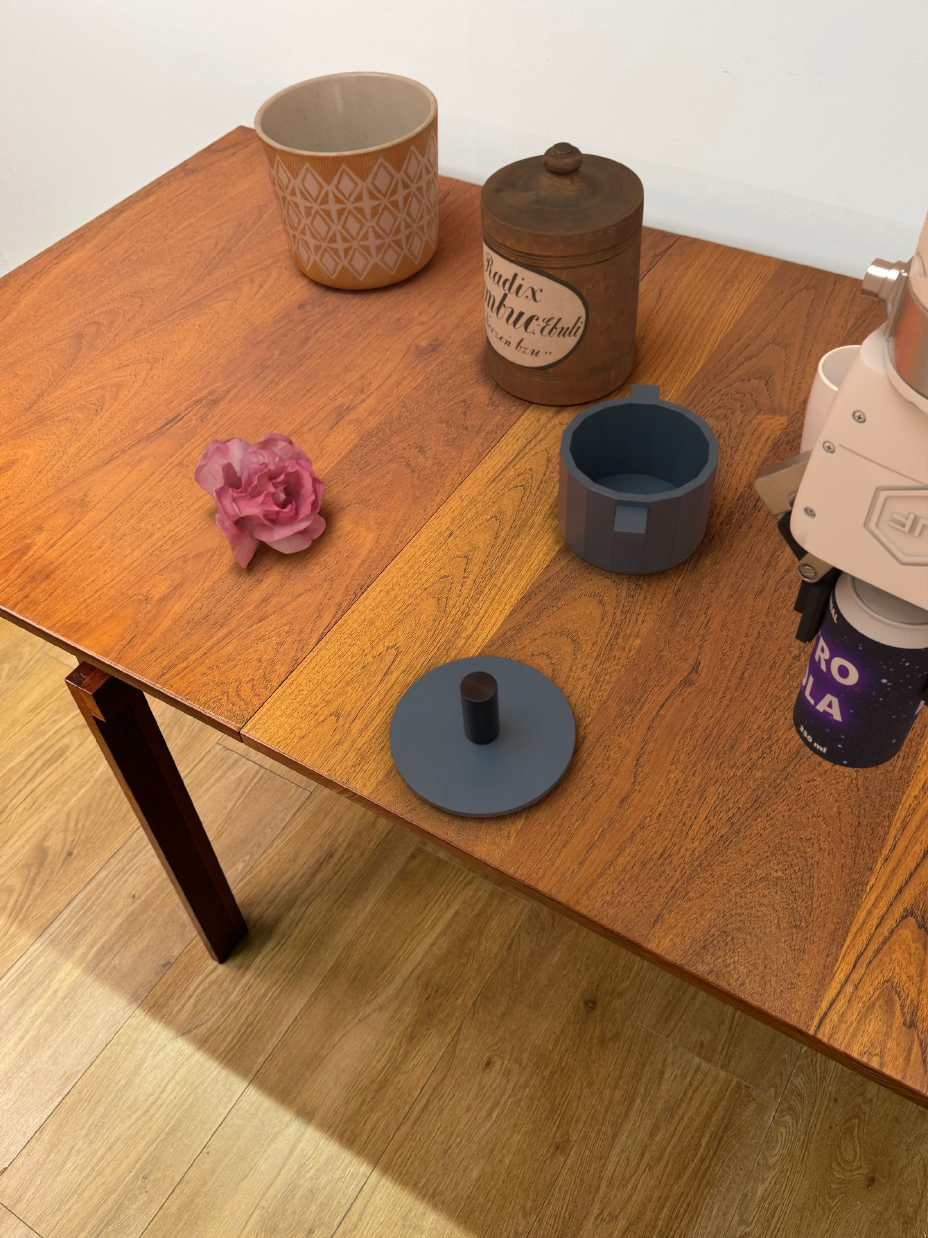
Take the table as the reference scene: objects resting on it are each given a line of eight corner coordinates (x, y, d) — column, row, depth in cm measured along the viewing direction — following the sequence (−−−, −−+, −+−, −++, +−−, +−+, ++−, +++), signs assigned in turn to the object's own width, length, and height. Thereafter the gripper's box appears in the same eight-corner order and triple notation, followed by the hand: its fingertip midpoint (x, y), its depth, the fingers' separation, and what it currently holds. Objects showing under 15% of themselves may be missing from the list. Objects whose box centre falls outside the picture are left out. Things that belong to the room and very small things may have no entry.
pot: (708, 458, 92) (721, 382, 85) (701, 606, 80) (715, 533, 74) (571, 447, 94) (573, 372, 87) (545, 590, 82) (546, 517, 76)
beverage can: (826, 671, 56) (881, 519, 47) (920, 728, 53) (998, 579, 44) (768, 734, 53) (813, 588, 44) (864, 798, 51) (933, 655, 41)
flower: (345, 539, 92) (349, 518, 82) (245, 585, 90) (237, 568, 80) (291, 429, 92) (289, 394, 82) (191, 472, 90) (176, 442, 81)
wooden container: (457, 361, 103) (442, 148, 86) (560, 302, 109) (565, 92, 92) (558, 428, 95) (563, 209, 78) (663, 361, 101) (689, 143, 84)
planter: (446, 297, 110) (434, 148, 98) (274, 304, 111) (240, 158, 99) (449, 208, 123) (439, 65, 110) (294, 215, 124) (267, 75, 111)
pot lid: (584, 675, 77) (588, 620, 72) (563, 834, 68) (565, 785, 63) (412, 655, 79) (404, 601, 74) (371, 807, 70) (358, 757, 65)
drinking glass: (869, 540, 84) (922, 397, 72) (788, 542, 84) (828, 400, 73) (850, 485, 88) (898, 341, 77) (773, 487, 89) (808, 345, 77)
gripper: (730, 307, 36) (680, 620, 50) (1260, 500, 29) (1028, 806, 43) (827, 217, 40) (755, 534, 54) (1324, 367, 32) (1089, 691, 46)
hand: (877, 652), depth 48 cm, fingers closed on beverage can, 5 cm apart
